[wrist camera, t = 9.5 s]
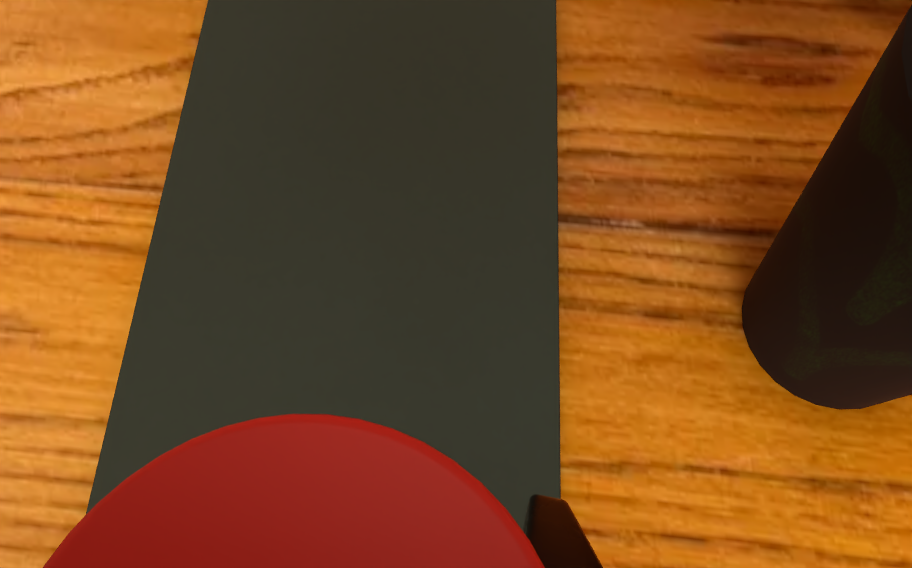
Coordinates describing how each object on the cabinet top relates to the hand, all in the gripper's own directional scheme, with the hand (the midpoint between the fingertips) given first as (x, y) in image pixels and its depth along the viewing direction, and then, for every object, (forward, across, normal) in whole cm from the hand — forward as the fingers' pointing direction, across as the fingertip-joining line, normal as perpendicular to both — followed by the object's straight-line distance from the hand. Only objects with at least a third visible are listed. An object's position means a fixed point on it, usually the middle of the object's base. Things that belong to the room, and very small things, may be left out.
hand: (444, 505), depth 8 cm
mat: (+17, +6, +2) cm, 18 cm away
